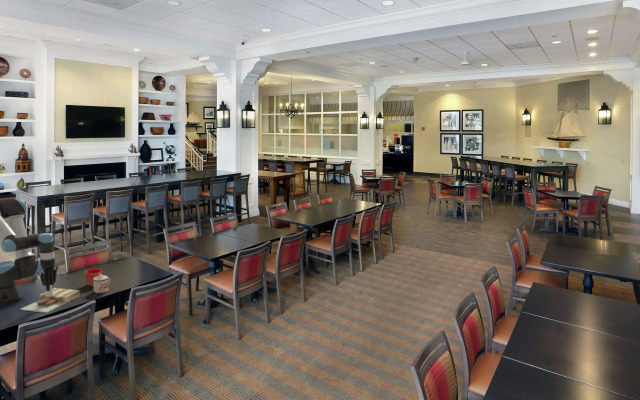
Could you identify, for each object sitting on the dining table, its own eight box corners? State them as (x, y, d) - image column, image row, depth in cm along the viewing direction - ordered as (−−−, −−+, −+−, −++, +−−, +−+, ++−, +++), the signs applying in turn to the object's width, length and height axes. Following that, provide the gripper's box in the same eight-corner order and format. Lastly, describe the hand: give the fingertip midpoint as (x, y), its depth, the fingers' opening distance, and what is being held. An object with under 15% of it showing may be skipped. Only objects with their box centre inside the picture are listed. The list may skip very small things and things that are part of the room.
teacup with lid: (100, 294, 270) (99, 277, 268) (90, 292, 273) (89, 275, 271) (115, 288, 281) (114, 272, 279) (105, 286, 284) (104, 270, 282)
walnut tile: (37, 305, 248) (37, 302, 248) (46, 300, 255) (46, 297, 255) (49, 306, 247) (48, 303, 247) (58, 302, 254) (58, 299, 254)
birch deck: (40, 300, 256) (39, 294, 256) (55, 293, 268) (54, 287, 267) (65, 303, 253) (65, 297, 253) (79, 296, 265) (79, 290, 265)
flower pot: (100, 280, 294) (99, 267, 293) (104, 285, 286) (103, 271, 284) (83, 283, 287) (83, 270, 286) (87, 288, 279) (86, 274, 278)
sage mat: (20, 309, 243) (20, 309, 243) (40, 300, 256) (39, 299, 256) (47, 313, 240) (46, 312, 240) (65, 303, 253) (65, 302, 253)
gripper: (44, 262, 242) (46, 299, 246) (61, 256, 255) (63, 291, 258) (33, 261, 243) (35, 298, 247) (50, 255, 256) (53, 290, 260)
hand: (50, 295), depth 253 cm, fingers closed
